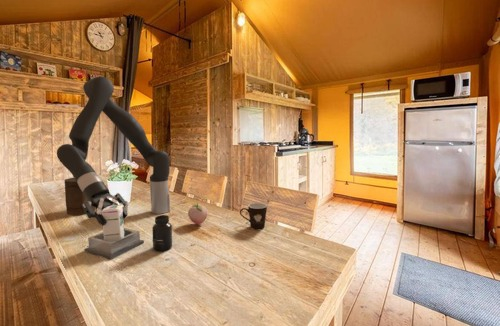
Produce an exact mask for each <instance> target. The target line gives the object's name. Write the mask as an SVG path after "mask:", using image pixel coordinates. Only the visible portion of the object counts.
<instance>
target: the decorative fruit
mask: <svg viewBox="0 0 500 326" xmlns="http://www.w3.org/2000/svg"><path fill="white" fill-rule="evenodd" d="M208 215H209V214H208V210H207V208H206V207H205V206H203V205H199V204H198V203H197V204H194V205H192V206H191V207H190V208H189V210H188V212H187V216H188V218H189V219H190V221H191V222H192V223H194V224H195V225H201V224H202V223H204V222H205V221H206V220H207V217H208Z"/></svg>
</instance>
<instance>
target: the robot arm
mask: <svg viewBox="0 0 500 326" xmlns="http://www.w3.org/2000/svg"><path fill="white" fill-rule="evenodd" d="M82 87H83V88H82V89H83V93H84V94H85V95H86V97H87V98H88V99H87V100H88V101H87V102H86V104H85V106H84V107H83V108H82V110H81V111H80V113H79V114H78V115H77V117H76V118H75V120H74V122H73V124H72V127H71V129H70V131H69V134H68V138H69V139H70V141H71V144H69V143H64V144H62V145H60V146H59V147H57V150H56V157H57V159H58V161H59V162H60V163H61V164H62V165H63V166H64V167H65V168H66V169H67V170H68V172H69V173H70V174H71V175H72V178H75V180H76V181H77V183H78V185H79V187H80V189H81V190H82V192H83V193H84V195H85V196H86V198H87V199H88V201H89V202H88V201H85V202H84V203H83V205H82V207H83V209H84V211H85V213H86V214H85V215H86V217H87V218H88V219H93V218H94V219H96V221H97V222H98V224H99V225H101V226H102V227H103V226H104V225H105V224H106V223H107V221H106V220H105V218H104V217H103V215H102V214H101V210H103V209H104V208H105V207H108V206H111V205H113V203H114V205H122V208H123V219H126V218H127V217H128V213H129V212H128V213H127V211H126V210H125V209H124V207H125V206H126V204H127V203H126V201H127V200H125V199H124V197H122V195H121V194H120V193H119V192H116V193H115V194H114V195H112V194H111V192H110V189H109V188H108V187H107V185H106V183H105V182H104V181H103V179H102V178H101V177H100V176H99V174H98V173H97V172H96V170H95V169H94V168H93V166H92V165H91V164H90V163H88V162H87V161H86V160H87V157H88V154H89V148H90V147H89V144H90V139H91V137H92V134H93V132H94V129H95V127H96V124H97V122H98V120H99V118H100V115H101V114H102V112H103V113H104V114H105V115H106V117H107V118H108V119H109V120H110V121H111V122H112V123H113V124H114V125H115V126H116V128H117V129H118V130H119V131H120V133H121V134H122V135H123V136H124V137H125V138H126V139H127V140H128V141H129V143H131V145H132V146H133V147H135V149H136V150H137V151H138V152H139V154H141V156H142V157H143V160H144V161H145V162H146V163H147V165H148V166H150V167H151V168H152V174H150V176H149V189H150V190H149V191H150V212H151V214H154V215H155V214H156V215H158V214H159V215H162V214H165V213H166V214H167V213H168V212H170V211H171V209H170V208H171V207H170V206H171V205H170V203H171V202H170V200H171V199H170V192H169V191H170V189H169V176H170V156H169V155H168V153H167V152H166V151H163V150H157V149H156V148H155V147H154V146H153V145H152V144H151V142H150V141H149V139H148V138H147V134H146V132H145V129H144V127H143V126H142V124H140V122H139V121H138V120H137V119H136V117H135V116H134V115H133V114H132V113H129V112H128V111H126V109H125V110H124V109H123V108H122V107H120V106H119V105H118V104H117V103H116V102H115V101H114V100H113V99H112V96H113V94H114V90H115V88H114V85H113V83H112V81H111V80H110V79H108V78H107V77H105V76H96V77H93V78H91V79H88V80H87V81H86V82H84V84H83V86H82ZM91 206H94V207H96V208H95V212H94V211H93V209H92V207H91Z"/></svg>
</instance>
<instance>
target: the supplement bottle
mask: <svg viewBox="0 0 500 326" xmlns="http://www.w3.org/2000/svg"><path fill="white" fill-rule="evenodd" d="M151 231H152V250H154V251H155V252H157V253H162V252H167V251H169V250H170V249H172V247H173V225H172V223H171V222H170V217H169V215H167V214H159V215H157V216H155V218H154V224H153V225H152V230H151Z"/></svg>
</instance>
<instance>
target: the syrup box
mask: <svg viewBox="0 0 500 326" xmlns="http://www.w3.org/2000/svg"><path fill="white" fill-rule="evenodd" d="M101 212H102V215H103V217H104V218H105V220H106V221H107V223H106V224H105V225H104V226H102V232H103V236H104V240H105V241H109V242H113V241H115V240H118V239H120V238H122V237H125V234H124V228H125V224H124V223H125V222H124V218H123V208H122V205H111V206H108V207H105V208H104V209H103V210H102V211H101Z"/></svg>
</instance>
